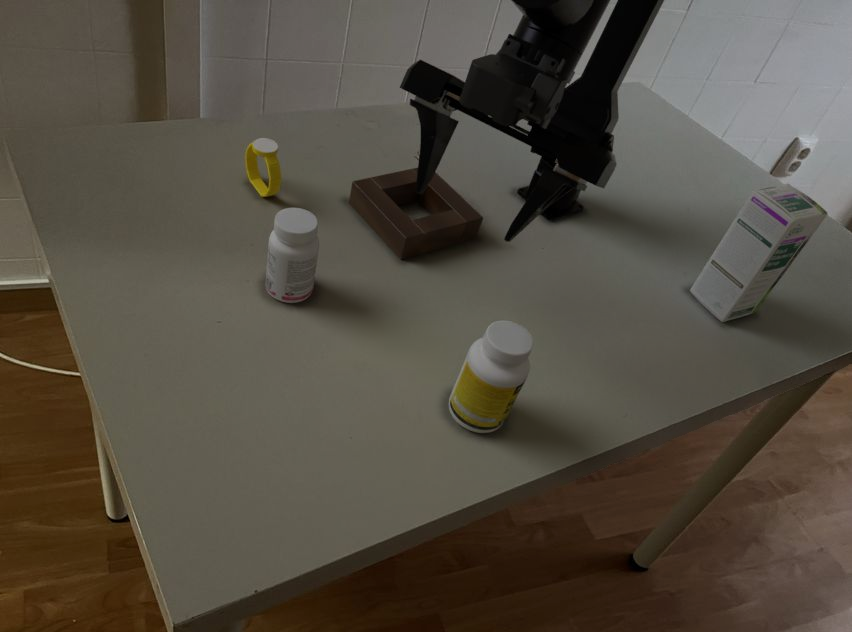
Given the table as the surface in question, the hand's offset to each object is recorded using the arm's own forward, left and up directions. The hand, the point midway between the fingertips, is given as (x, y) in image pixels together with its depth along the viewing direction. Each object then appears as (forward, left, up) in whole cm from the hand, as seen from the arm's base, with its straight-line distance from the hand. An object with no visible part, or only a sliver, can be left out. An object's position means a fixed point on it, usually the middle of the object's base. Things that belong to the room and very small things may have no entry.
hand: (461, 216), depth 63 cm
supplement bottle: (+3, +11, -13) cm, 18 cm away
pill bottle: (+11, -10, -13) cm, 19 cm away
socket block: (-8, -15, -13) cm, 21 cm away
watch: (+6, -26, -13) cm, 29 cm away
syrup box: (-35, +11, -13) cm, 39 cm away
